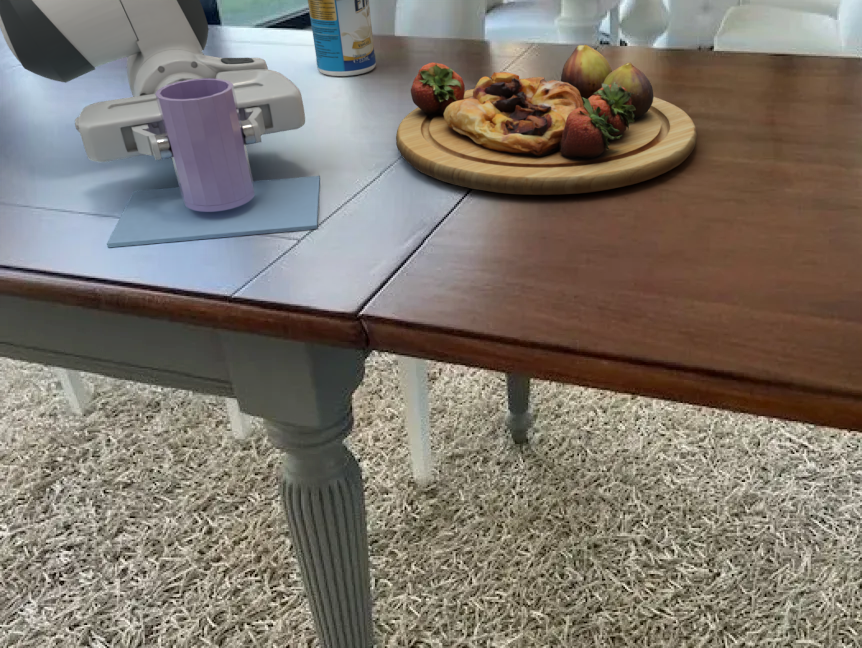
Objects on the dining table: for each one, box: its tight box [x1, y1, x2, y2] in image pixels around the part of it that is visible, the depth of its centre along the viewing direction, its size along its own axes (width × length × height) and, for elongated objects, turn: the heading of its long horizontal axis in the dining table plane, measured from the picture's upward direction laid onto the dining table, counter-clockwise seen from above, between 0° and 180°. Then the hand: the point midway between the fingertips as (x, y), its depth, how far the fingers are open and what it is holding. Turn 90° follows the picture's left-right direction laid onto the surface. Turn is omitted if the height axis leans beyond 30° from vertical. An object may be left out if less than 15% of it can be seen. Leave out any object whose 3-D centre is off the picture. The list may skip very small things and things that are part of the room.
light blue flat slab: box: [106, 175, 321, 248], centre depth 80 cm, size 18×12×1 cm, turn 99°
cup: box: [155, 78, 255, 212], centre depth 76 cm, size 6×6×10 cm
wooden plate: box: [395, 44, 698, 196], centre depth 90 cm, size 32×32×8 cm
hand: (208, 142), depth 75 cm, fingers closed on cup, 6 cm apart
